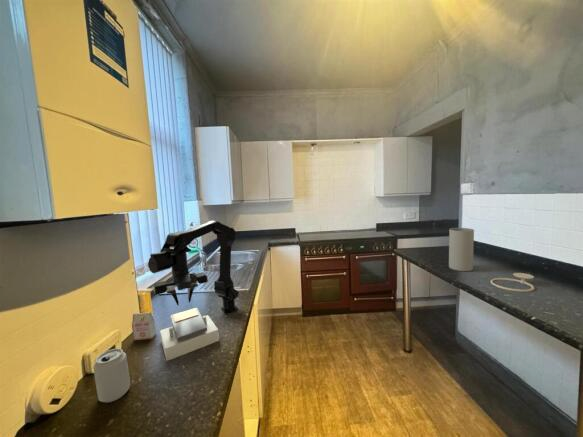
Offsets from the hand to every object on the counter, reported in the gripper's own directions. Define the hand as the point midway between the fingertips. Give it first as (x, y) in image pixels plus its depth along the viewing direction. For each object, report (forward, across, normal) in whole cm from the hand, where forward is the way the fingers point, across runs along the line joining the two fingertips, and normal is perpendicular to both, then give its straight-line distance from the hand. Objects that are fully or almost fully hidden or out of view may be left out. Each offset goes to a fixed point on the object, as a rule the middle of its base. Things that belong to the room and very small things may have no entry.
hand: (183, 303), depth 96 cm
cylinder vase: (+13, +156, -35) cm, 160 cm away
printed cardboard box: (+13, -14, +10) cm, 22 cm away
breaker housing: (+13, 0, -5) cm, 14 cm away
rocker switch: (+6, 0, -5) cm, 8 cm away
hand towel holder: (+13, +147, -63) cm, 161 cm away
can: (+13, -23, -18) cm, 32 cm away
